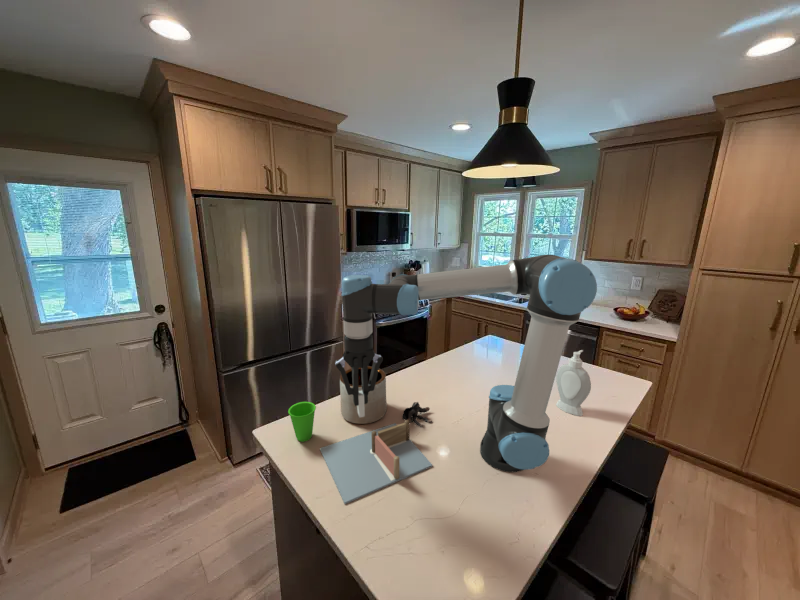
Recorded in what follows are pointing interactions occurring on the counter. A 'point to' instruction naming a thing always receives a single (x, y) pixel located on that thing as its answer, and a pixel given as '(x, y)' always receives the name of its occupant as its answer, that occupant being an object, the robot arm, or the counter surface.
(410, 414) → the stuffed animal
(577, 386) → the soap bottle
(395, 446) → the card
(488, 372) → the counter surface
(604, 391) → the counter surface
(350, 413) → the planter
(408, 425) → the fixed fence panel
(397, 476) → the hinged fence panel
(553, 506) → the counter surface
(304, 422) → the cup
